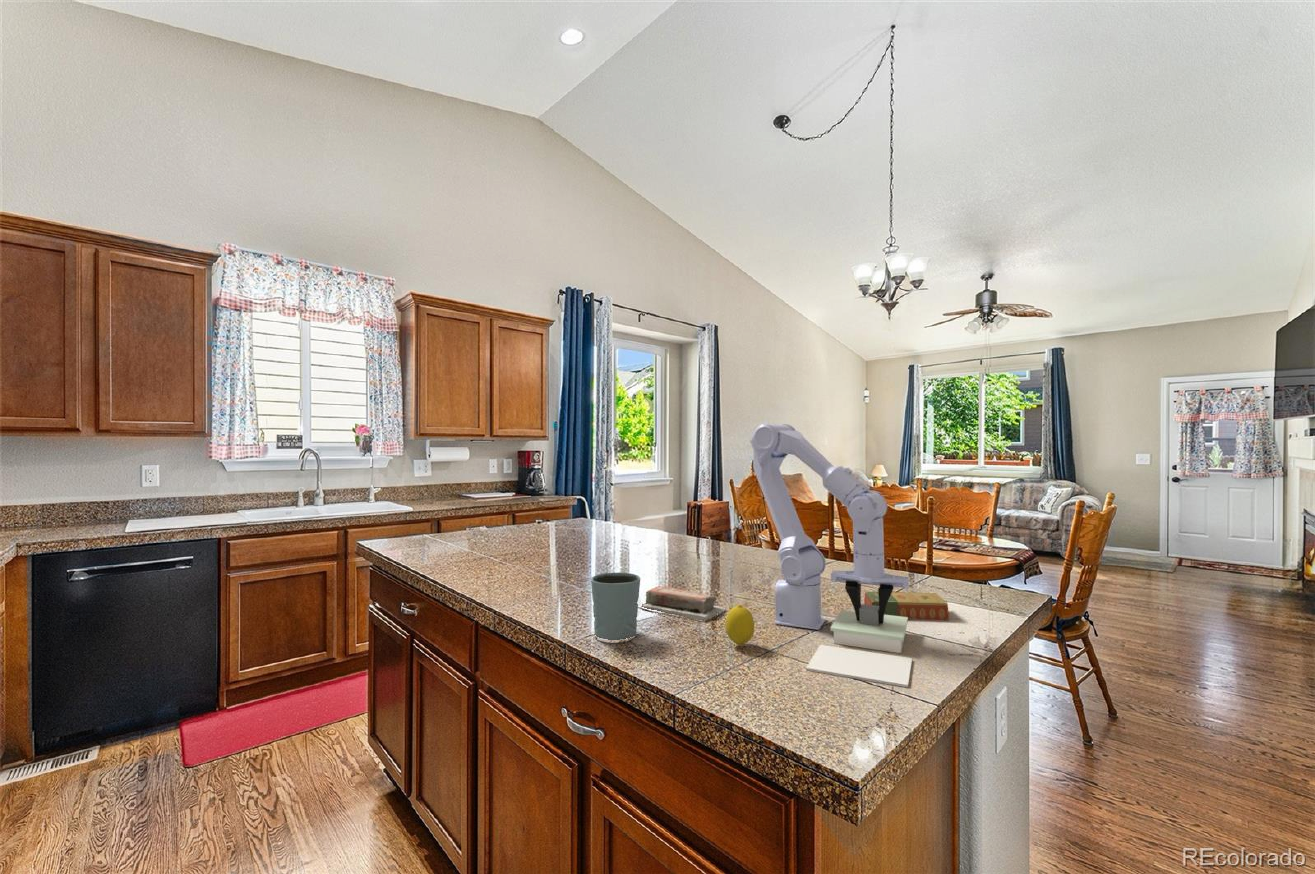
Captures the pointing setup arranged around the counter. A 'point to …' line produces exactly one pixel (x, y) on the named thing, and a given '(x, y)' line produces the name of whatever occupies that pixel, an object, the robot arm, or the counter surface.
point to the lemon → (739, 625)
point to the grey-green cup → (615, 605)
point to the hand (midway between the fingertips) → (870, 620)
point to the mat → (861, 665)
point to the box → (868, 642)
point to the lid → (870, 623)
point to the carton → (912, 605)
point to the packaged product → (682, 603)
